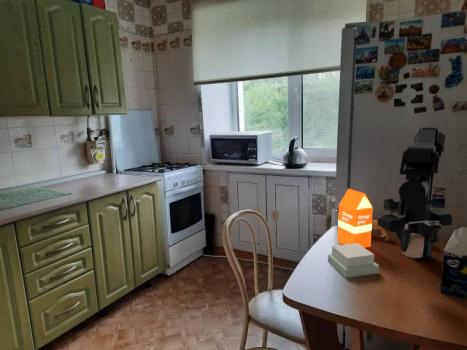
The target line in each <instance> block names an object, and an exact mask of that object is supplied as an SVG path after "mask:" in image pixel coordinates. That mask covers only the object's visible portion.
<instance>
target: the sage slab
mask: <svg viewBox="0 0 467 350" xmlns="http://www.w3.org/2000/svg"><path fill="white" fill-rule="evenodd" d="M327 262H328V263H329V264H330V265H331V266H332V265H333V266H334V267H335V268H336V269H337V272H338V273H340V274H341V275H342V276H343V277H344V278H346V279H348V278H353V277H355V276H356V277H362V275H363V276H369V274H370V275H375V274H376V275H377V274H380V265H379V264H378V263H376V262H375V261H374V264H369V265H362V266H354V267H346V266H344V265H343V264H342V263H341V262H340V261H339V260H337V259H336V258H335V257H334V256H333V255H332V253H330V254H327ZM333 266H332V267H333ZM334 267H333V268H334ZM335 268H334V269H335ZM336 269H335V270H336ZM347 277H348V278H347Z"/></svg>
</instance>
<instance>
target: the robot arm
mask: <svg viewBox="0 0 467 350" xmlns="http://www.w3.org/2000/svg"><path fill="white" fill-rule="evenodd" d="M446 142H447V136H446V135H445V134H444V133H442V132H441V131H440V128H438V127H436V126H435V127H427V126H423V127H419V129H418V132H417V133H416V134H415V135H414V141H413V143H410V144H408V146H407V147H406V149H405V150H403V152H402V157H401V163H400V167H399V175H405V180H404V181H403V182H402V184H401V185H400V187H399V189H398V196H399V201H395V200H394V198H387V199H384V200H383V209H384V211H387V212H388V211H389V214H381V215H379V217H378V218H377V221H378V224H377V225H379V226H380V227H382V228H384V229H386V231H390V233H395V234H396V236H397V240H398V243H399V246H400V249H401V252H402V251H403V252H406V250H407V247H408V244H409V240H410V236H411V233H414V234H419V235H422V236H423V237H424V246H423V256H422V257H420V258H412V259H414V260H415V261H418V262H424V261H431V260H435V259H436V257H435V256H433V255H432V254H433V253H432V251H433V244H436V243H439V239H440V238H439V237H440V236H439V234H440V230H441V229H442V226H443V227H446V226H452V225H453V216H452V215H451V213H448V212H446V211H444V210H440V209H431V208H432V205H433V202H434V200H433V191H434V180H435V176H436V175H435V174H438V173H439V166H440V162H441V161H440V160H441V159H442V157H443V153H445V151H446ZM394 213H397V215H399V216H402V217H399V216H396V215H394ZM438 221H439V223H438ZM438 224H440V225H441V226H440V225H438Z"/></svg>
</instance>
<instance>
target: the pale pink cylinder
mask: <svg viewBox="0 0 467 350" xmlns="http://www.w3.org/2000/svg"><path fill="white" fill-rule="evenodd" d="M423 246H424V237H423V236H422V235H419V234H414V233H411V236H410V240H409V244H408V247H407V250H406V252H403V251H402V250H401V254H403V256H405V257H408V258H412V259H413V258H420V257H422V256H423Z"/></svg>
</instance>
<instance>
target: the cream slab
mask: <svg viewBox="0 0 467 350" xmlns="http://www.w3.org/2000/svg"><path fill="white" fill-rule="evenodd" d="M331 248H332V249H331V254H332V255H333V256H334V257H335V258H336V259H337V260H339V261H340V262H341V263H342V264H343V265H344V266H346V267H354V266H362V265H369V264H374V262H375V254H374V253H373V252H371V251H370V250H369V249H368V248H367V249H366V248H364V247H362V246H361V245H359V244H358V243H356V244H347V245H343V244H340V245H332V247H331Z"/></svg>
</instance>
